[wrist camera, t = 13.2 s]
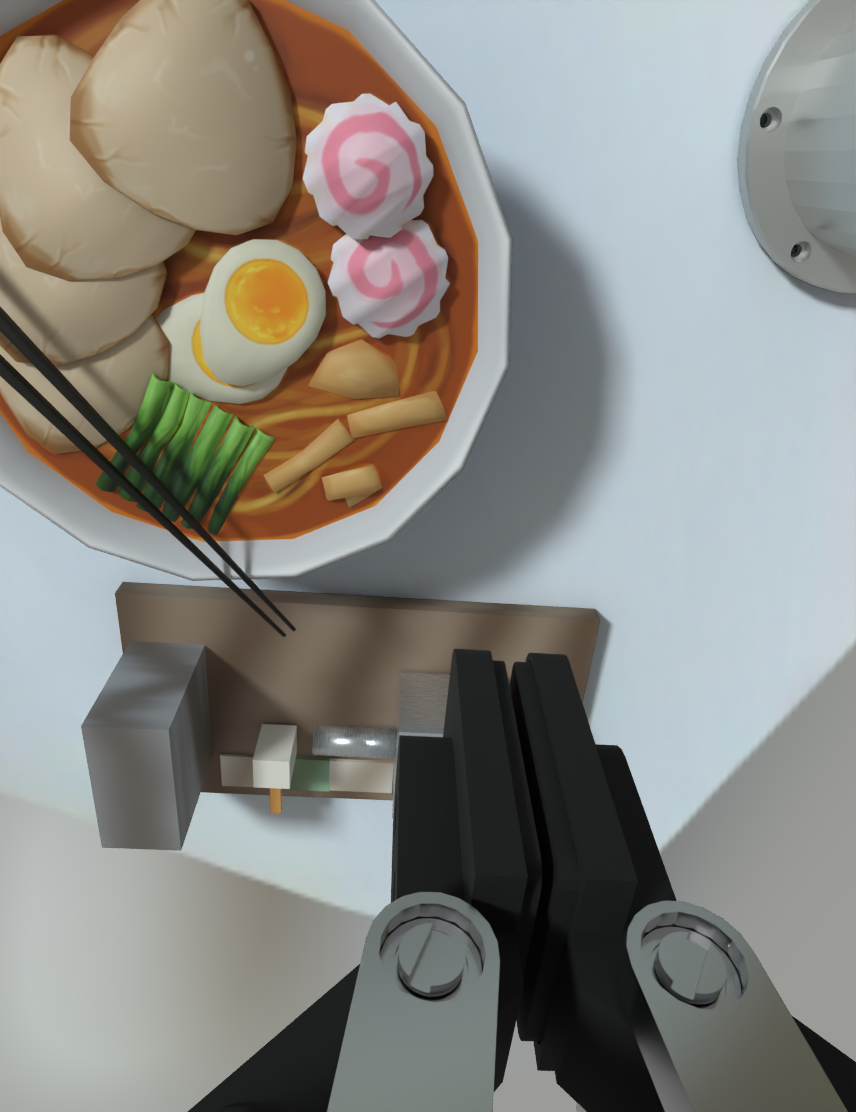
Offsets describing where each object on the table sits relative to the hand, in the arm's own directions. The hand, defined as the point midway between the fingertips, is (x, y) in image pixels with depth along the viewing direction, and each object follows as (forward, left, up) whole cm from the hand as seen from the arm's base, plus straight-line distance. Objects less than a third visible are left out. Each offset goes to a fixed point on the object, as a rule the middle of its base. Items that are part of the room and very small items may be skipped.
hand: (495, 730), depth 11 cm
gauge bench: (+3, +21, -27) cm, 34 cm away
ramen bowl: (+9, -2, -27) cm, 29 cm away
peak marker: (+8, +25, -26) cm, 36 cm away
